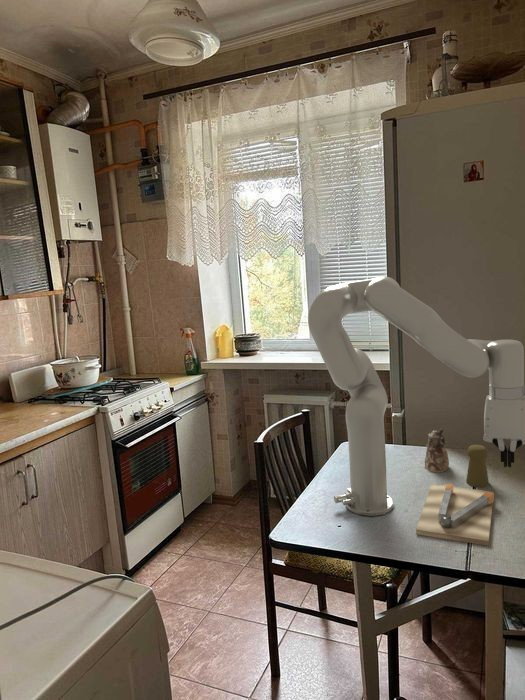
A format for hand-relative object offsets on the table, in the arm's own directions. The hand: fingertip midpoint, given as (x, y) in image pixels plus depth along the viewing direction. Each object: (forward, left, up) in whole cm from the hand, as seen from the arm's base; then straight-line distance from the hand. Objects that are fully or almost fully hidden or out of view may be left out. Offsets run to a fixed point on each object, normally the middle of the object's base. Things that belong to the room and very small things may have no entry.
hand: (507, 464), depth 128 cm
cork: (+6, +19, -14) cm, 25 cm away
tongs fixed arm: (-11, +9, -12) cm, 19 cm away
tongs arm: (-9, +3, -12) cm, 16 cm away
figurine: (+2, +33, -14) cm, 36 cm away
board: (-10, +6, -14) cm, 18 cm away
